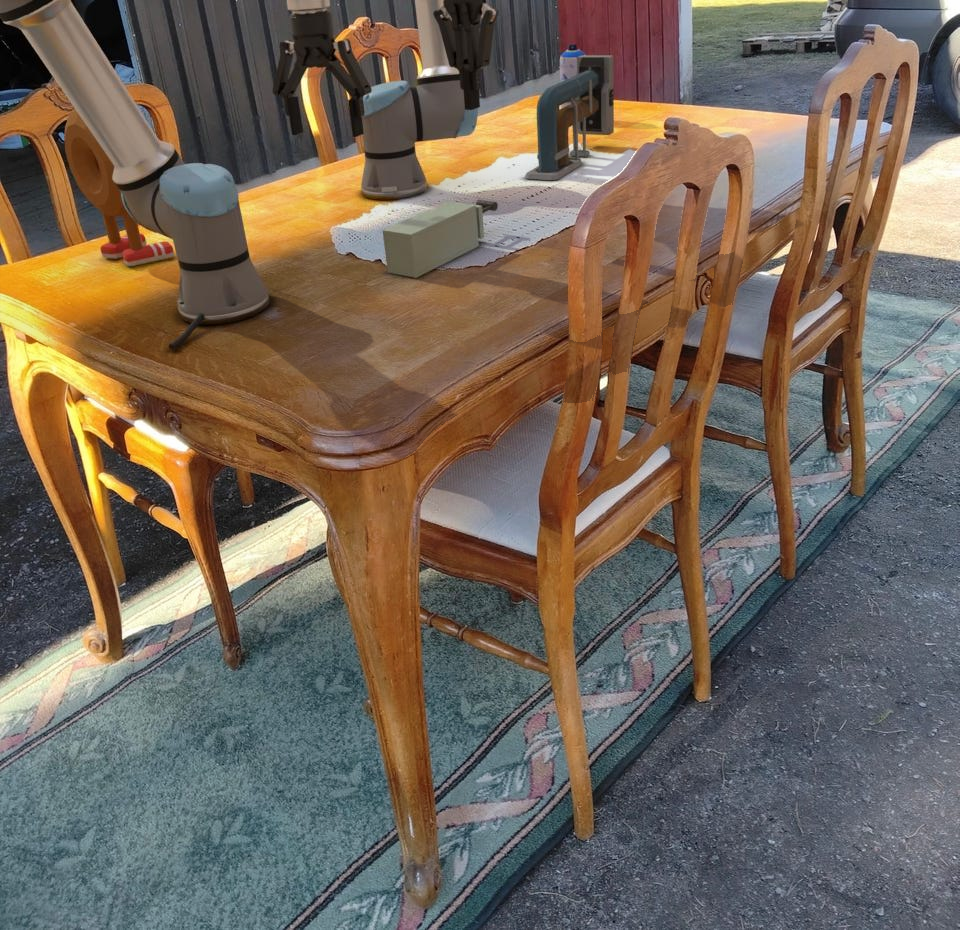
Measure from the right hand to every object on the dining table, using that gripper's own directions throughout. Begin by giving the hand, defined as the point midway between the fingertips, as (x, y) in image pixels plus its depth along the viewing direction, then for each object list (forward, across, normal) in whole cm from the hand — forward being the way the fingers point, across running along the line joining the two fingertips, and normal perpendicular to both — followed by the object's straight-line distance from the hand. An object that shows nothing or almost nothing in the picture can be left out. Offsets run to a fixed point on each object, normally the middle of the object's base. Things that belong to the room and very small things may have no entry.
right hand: (472, 108), depth 179 cm
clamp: (+24, +14, -56) cm, 63 cm away
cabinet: (+24, 0, +15) cm, 28 cm away
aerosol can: (+24, +38, -98) cm, 108 cm away
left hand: (+3, +23, +15) cm, 28 cm away
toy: (+24, +58, +40) cm, 74 cm away
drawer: (+23, 0, +9) cm, 25 cm away
